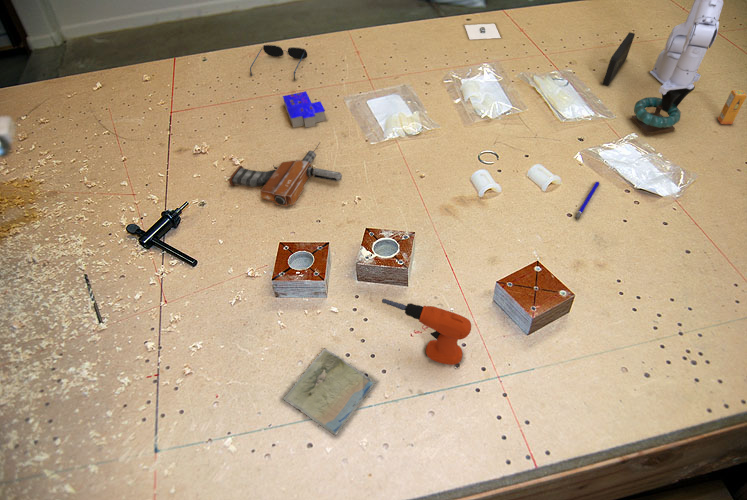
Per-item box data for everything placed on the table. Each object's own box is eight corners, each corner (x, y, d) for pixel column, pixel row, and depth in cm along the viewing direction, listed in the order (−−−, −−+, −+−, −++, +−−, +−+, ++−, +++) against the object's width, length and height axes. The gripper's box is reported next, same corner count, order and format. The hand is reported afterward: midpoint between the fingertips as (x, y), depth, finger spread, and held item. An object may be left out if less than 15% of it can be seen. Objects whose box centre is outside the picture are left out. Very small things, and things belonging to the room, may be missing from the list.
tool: (221, 184, 144) (320, 203, 135) (267, 128, 160) (358, 142, 152) (226, 195, 146) (323, 215, 138) (270, 139, 163) (360, 154, 155)
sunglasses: (308, 59, 194) (306, 47, 190) (296, 85, 186) (293, 73, 182) (265, 55, 197) (262, 43, 193) (251, 80, 189) (247, 68, 185)
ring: (625, 104, 162) (629, 96, 160) (666, 102, 163) (670, 94, 161) (643, 130, 154) (647, 122, 152) (685, 128, 155) (690, 120, 152)
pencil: (577, 219, 135) (578, 217, 134) (574, 218, 135) (575, 215, 134) (599, 183, 144) (600, 180, 143) (596, 181, 144) (597, 179, 143)
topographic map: (282, 398, 104) (281, 395, 103) (324, 348, 111) (324, 345, 110) (335, 437, 99) (335, 434, 98) (376, 382, 106) (376, 378, 105)
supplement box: (727, 118, 162) (743, 89, 154) (731, 124, 159) (748, 95, 152) (716, 118, 162) (732, 89, 155) (720, 124, 160) (736, 95, 152)
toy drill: (380, 322, 114) (387, 282, 102) (463, 350, 111) (480, 313, 100) (372, 340, 111) (379, 301, 99) (458, 370, 108) (475, 333, 97)
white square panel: (494, 23, 208) (495, 19, 207) (500, 37, 200) (501, 34, 199) (464, 25, 208) (464, 21, 207) (469, 39, 200) (470, 35, 199)
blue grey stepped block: (293, 130, 164) (291, 116, 160) (283, 105, 174) (281, 91, 170) (327, 123, 167) (326, 108, 163) (315, 99, 176) (313, 84, 172)
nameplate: (607, 86, 176) (616, 59, 168) (601, 85, 176) (611, 57, 169) (626, 59, 187) (635, 32, 179) (620, 58, 188) (630, 31, 180)
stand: (630, 119, 163) (637, 100, 158) (656, 114, 164) (664, 95, 159) (646, 135, 157) (654, 116, 152) (673, 131, 158) (682, 112, 153)
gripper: (681, 79, 144) (662, 121, 154) (716, 65, 148) (696, 107, 159) (660, 68, 148) (643, 110, 159) (696, 55, 153) (677, 96, 163)
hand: (668, 107), depth 159 cm, fingers closed on ring, 3 cm apart
